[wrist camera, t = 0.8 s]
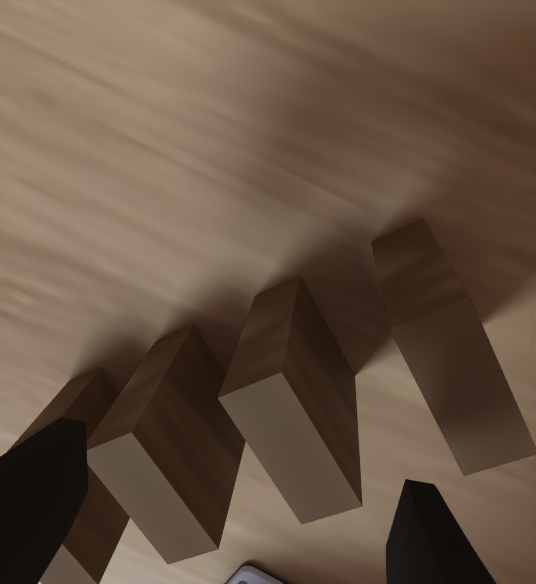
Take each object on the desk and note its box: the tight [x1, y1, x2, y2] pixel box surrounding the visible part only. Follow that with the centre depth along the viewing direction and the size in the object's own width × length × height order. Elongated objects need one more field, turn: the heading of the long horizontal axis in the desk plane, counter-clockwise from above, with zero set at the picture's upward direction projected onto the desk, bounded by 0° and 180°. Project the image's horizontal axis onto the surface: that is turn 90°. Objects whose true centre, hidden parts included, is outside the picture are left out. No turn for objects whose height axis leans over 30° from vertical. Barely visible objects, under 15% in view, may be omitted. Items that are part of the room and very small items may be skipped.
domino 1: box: [6, 367, 130, 584], centre depth 20 cm, size 2×5×7 cm, turn 29°
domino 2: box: [87, 325, 246, 564], centre depth 19 cm, size 2×5×7 cm, turn 29°
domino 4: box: [371, 219, 536, 476], centre depth 16 cm, size 2×5×7 cm, turn 29°
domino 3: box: [218, 276, 362, 525], centre depth 17 cm, size 2×5×7 cm, turn 29°
